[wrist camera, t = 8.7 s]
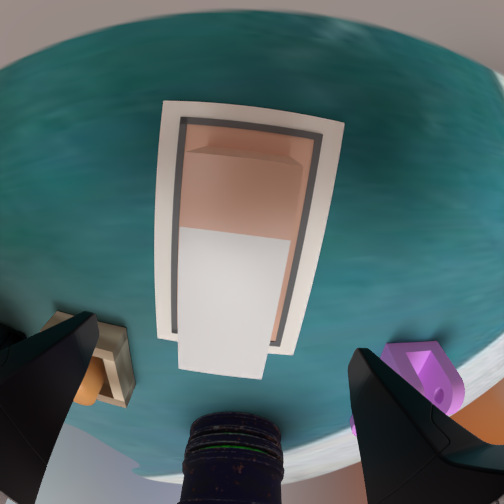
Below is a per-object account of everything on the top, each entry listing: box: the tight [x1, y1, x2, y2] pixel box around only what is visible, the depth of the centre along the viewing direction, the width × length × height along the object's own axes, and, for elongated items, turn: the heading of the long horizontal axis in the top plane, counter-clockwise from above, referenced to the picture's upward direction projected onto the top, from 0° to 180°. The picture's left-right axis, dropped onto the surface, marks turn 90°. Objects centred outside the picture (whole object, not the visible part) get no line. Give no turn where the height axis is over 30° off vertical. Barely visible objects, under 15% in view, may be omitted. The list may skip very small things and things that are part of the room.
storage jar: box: [177, 412, 284, 504], centre depth 20 cm, size 10×10×15 cm
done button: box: [73, 356, 107, 405], centre depth 19 cm, size 4×4×3 cm
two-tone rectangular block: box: [178, 146, 304, 379], centre depth 15 cm, size 11×4×5 cm, turn 173°
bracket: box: [350, 341, 465, 436], centre depth 21 cm, size 13×6×7 cm, turn 175°
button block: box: [40, 311, 136, 408], centre depth 21 cm, size 7×7×3 cm
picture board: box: [154, 101, 345, 355], centre depth 18 cm, size 16×10×1 cm, turn 173°
